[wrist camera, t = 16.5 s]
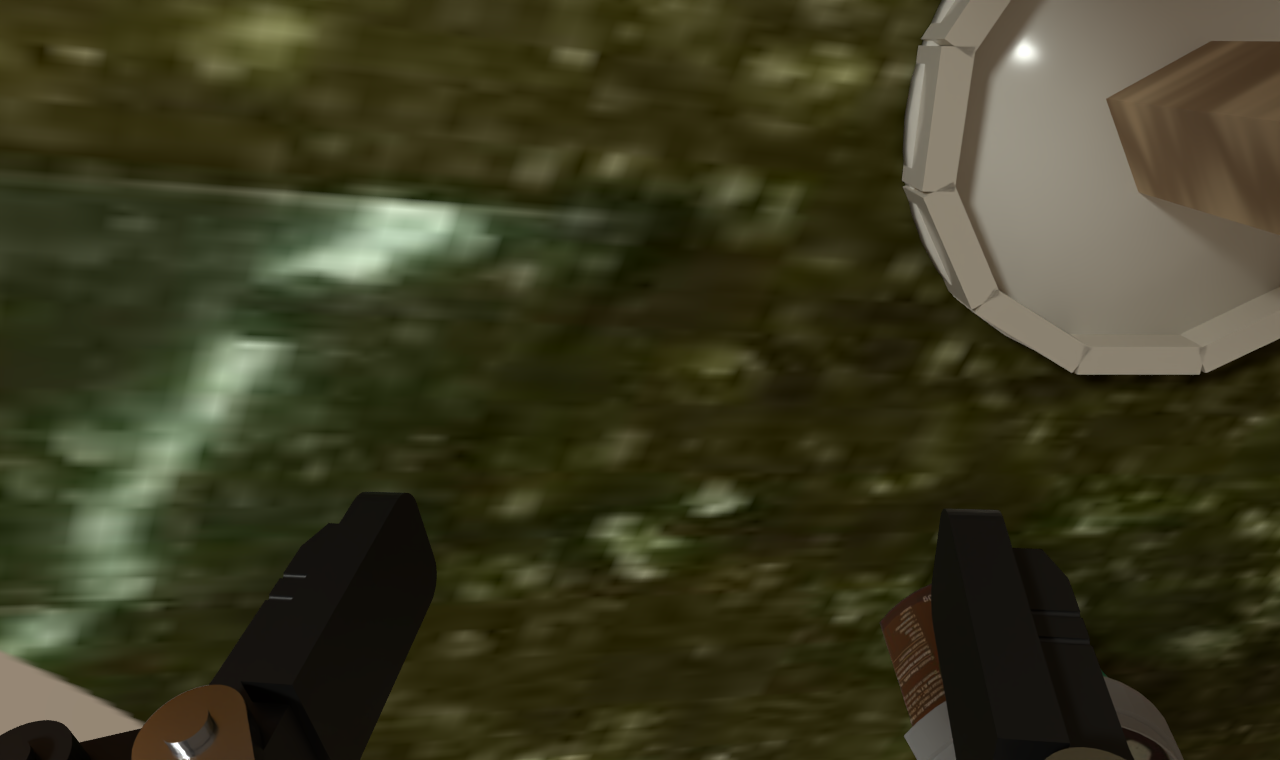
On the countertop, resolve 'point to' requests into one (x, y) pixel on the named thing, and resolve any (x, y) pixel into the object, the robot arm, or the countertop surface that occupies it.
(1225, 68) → the oak block
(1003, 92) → the round dish
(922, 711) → the food container
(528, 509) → the countertop surface
